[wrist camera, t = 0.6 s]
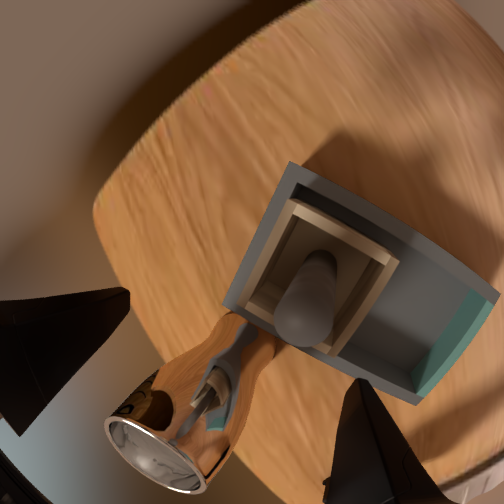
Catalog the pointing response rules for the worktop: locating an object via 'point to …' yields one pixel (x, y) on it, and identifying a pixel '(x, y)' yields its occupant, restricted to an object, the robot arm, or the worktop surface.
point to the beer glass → (193, 407)
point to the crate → (316, 278)
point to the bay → (386, 294)
